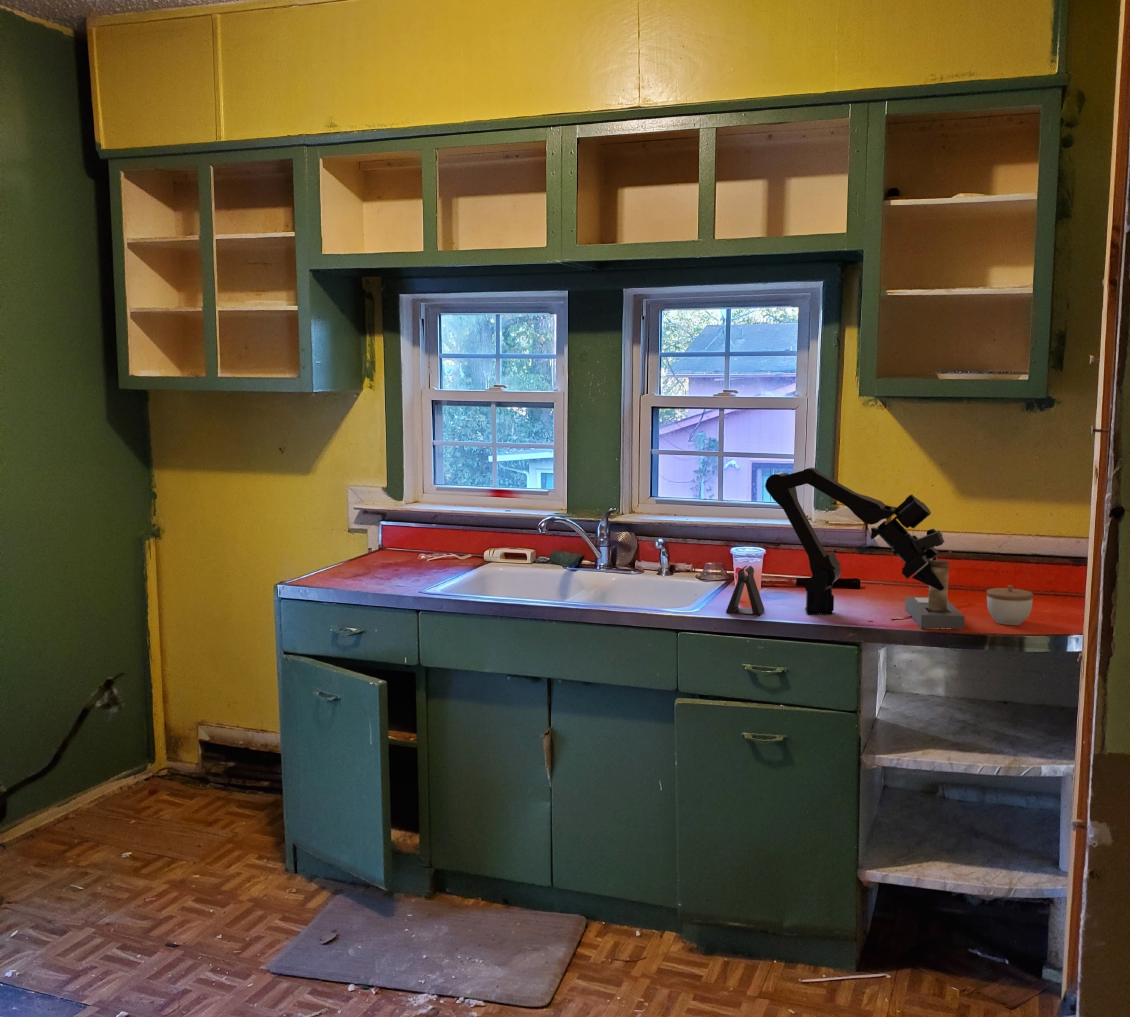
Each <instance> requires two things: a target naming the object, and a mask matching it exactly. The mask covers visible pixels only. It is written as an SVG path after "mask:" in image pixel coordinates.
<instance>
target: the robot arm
mask: <svg viewBox="0 0 1130 1017" xmlns="http://www.w3.org/2000/svg"><path fill="white" fill-rule="evenodd" d="M764 485H765V490H766V492H767V493H768V494H769V495H770V497H771V498H772V499H773V501H775V503H776V504H778V505H779V507H780V508H782V510H783V511H784V513H785V515H786V517H787V519H788V521H789V524H791V526H792V528H793V530H794V532H795V534H796V536H797V538H798V539H799V541H800V543H801V545H802V547H803V549H804V551H805V553H806V555H807V557H808V563H809V569H810V571H811V577H810V578H808V579H807V580H806V581H805V582H804V583H803V585H804V588H805V607H804V611H805V613H806V614H807V615H830V616H831V615H833V612H834V610H835V609H834V607H835V603H834V602H835V596H834V594H833V593H832V592H833V590H832V587H833V584H834V583H835V582H836V581H837V580H839V578H840V577H841V574H842V569H841V566H842V563H840V562H839V560H838V558H837V556H836V553H835V552H834V551H831V552H830V553H829V552H828V551H826V549H825V548H824V546H823V545H822V543H821V541H820V539H819V538H818V536H817V534H816V531H815V530H814V528H813V526H812V525H811V523H810V521H809V518H808V517H807V514H805V512H804V510H803V508H802V505H801V504H800V502H799V499H798V492H797V487H799V486H803V485H810V486H812V488H815V489H816V490H818V491H819V492H821V493H823V494H825V495H827V496H829V497H830V498H832V499H833V500H835V501H837V502H839V503H840V504H842V505H844V506H846V507H847V508H848V509H849V510H850V511H851V512H852V514H854V515H855V516H856V517H857V518H859V520H861V521H862V522H863V523H865V524H867V525H870V526H871V525H876V524H878V523H879V522H881V521H882V522H881V523H880V524H879V525H878V526H877V527H871V528H870V539H871V540H873V539H876V538H877V537H878V536H879V537H880V538H881V539H882V540H883V541H884V543H885V544H887V546H889V548H891V550H892V554H894V556H896V555H897V556H898V557H899V558H900V560H902V561H903V562H904V564H903V565H904V566H903V567H902V568H901V574H902V575H903V576H904V577H905V579H906V580H908V579H909V578H911V579H914V580H915V581H918V582H920V583H923V584H925V585H928V587H929V586H932V587H934V588H936V589H938V590H940V591H941V590H943V589H944V586H943V585H942V583H941V582H940V580H939V579H938V578H937V576H936V575H935V573H934V572H933V570H932V560H938V555H937V554H938V553H939V551H938V550H937V549H936V548H935V547H939V546H942V545H943V544H944V543H945V539H944V537H943V533H941V531H940V530H938V531H937V530H936V529H934V528H931V529H928V530H927V531H926V535H923V536H922V537H919V538H918V537H917V536H916V535H912V534H910V532H909V531H908V530H906V529H909V528H911V529H915V528H916V527H918V525H920V524H921V523H922V522H923V521H925V520H926V519H927V518H928V517H929V516H930V515H931V514H932V512H931V510H930V508H928V506H927V505H926V503H924V502H923V501H922V500H920V499H919V498H917V497H915V496H914V495H913V494H909V495H908V496H907V497H906V498H905V500H903V501H902V502H901V504H899V505H898V506H897V507H896V506H891V505H887V504H885V503H884V502H883V501H881V500H880V499H876V498H874V497H871V496H868V495H865V494H860V493H859V492H855V491H854V490H852V489H850V488H848V487H847V486H845V485H843V484H841V483H840V482H838V481H837V480H835V479H833V478H831V477H829V476H827V475H826V474H824V473H822V472H821V471H819V470H818V469H817V468H815V467H807V468H805V469H803V470H800V471H797V472H793V473H788V472H777V473H775V474H774V473H773V474H771V475H769V476H768V477H767V479H766V480H765V484H764ZM893 516H895V517H893ZM891 517H893V518H892V519H891V520H889V521H887V520H886V519H889V518H891ZM933 557H934V558H933ZM930 561H931V562H930Z"/></svg>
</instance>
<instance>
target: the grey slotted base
mask: <svg viewBox="0 0 1130 1017" xmlns="http://www.w3.org/2000/svg"><path fill="white" fill-rule="evenodd" d="M928 600H929V596H905V605H904V609H906V610H905V611H906V613H907V612H908V613H909V614H910V615H911V616H912V617H911V616H910V615H909V614H908V613H907V614H908V615H909V616H910V617H911V618H913V619H914V620H915V621H914V620H913V619H912V620H913V621H914V622H915V623H917V624H918V625H919V626H918V625H917V624H916V625H917V626H918V627H919V629H920V628H932V629H931V630H934V629H933V628H939V629H941V628H945V629H946V628H951V629H964V626H965V615H964V614H963V613H961V612H960V611H959V609H958V608H956V607H955V606H954V605H953V604H952V603H951V602H950V601H949V600H948V599H947V613H938V612H928ZM939 629H938V630H939ZM964 630H965V629H964Z"/></svg>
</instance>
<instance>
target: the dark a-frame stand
mask: <svg viewBox="0 0 1130 1017" xmlns="http://www.w3.org/2000/svg"><path fill="white" fill-rule="evenodd" d="M745 572H746V573H747V574H746V573H745ZM754 574H755V569H754V567H753V566H752V565H750V566H748V565H745V566H743V567H742V568H740V570H738V571H737V581H736V585H735V587H734V590H733V592H732V595H731V597H730V600H729V603H728V604H727V607H726V610H725V613H726V614H728V615H729V614H731V615H732V614H733V615H741V614H742V615H743V614H744V616H754V615H755V616H757V617H759V616H760V615H762V614H763V613H764V612H765V610H766V609H765V606H764V603H763V601H762V598H761V595H760V592H759V589H758V586H757V583H756V580H755V577H754ZM745 586H746V590H747V594H748V598H749V603H750V607H751V608H748V607H747V608H745V607H743V608H742V607H739V606H740V605H739V604H740V602H741V597H742V594H743V591H744V587H745Z"/></svg>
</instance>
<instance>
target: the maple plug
mask: <svg viewBox="0 0 1130 1017" xmlns="http://www.w3.org/2000/svg"><path fill="white" fill-rule="evenodd" d="M930 562H931V561H930ZM949 567H950V561H948V560H947V561H946V560H939V559H937V560H932V570H933V572H934V573H935V575H936V576H937V578H938V579H939V580H940V582H941V583H942V585H943V586H944V589H943V590H941V591H940V590H938V589H936V588H934V587H932V586H929V585H928V597H929V600H928V612H938V613H947V600H948V594H949V593H948V592H949V588H948V587H949V569H950V568H949Z"/></svg>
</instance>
